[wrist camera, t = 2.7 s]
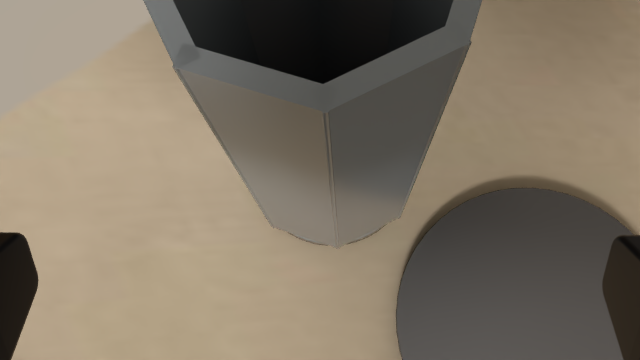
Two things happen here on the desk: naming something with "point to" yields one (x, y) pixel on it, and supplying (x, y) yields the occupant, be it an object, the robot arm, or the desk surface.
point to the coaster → (510, 281)
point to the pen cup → (321, 99)
